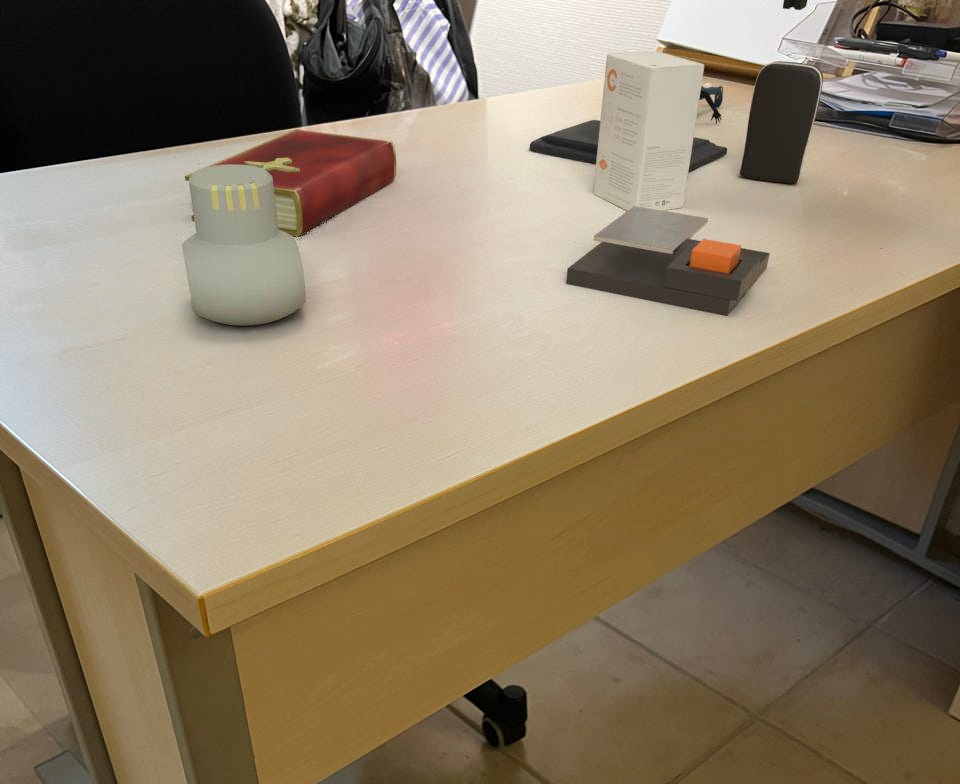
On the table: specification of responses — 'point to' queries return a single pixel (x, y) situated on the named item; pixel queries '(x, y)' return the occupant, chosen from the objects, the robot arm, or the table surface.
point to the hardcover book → (318, 174)
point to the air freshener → (240, 249)
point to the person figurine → (706, 92)
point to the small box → (647, 129)
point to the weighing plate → (651, 230)
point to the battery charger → (781, 121)
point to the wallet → (584, 145)
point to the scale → (667, 276)
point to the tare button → (715, 256)
